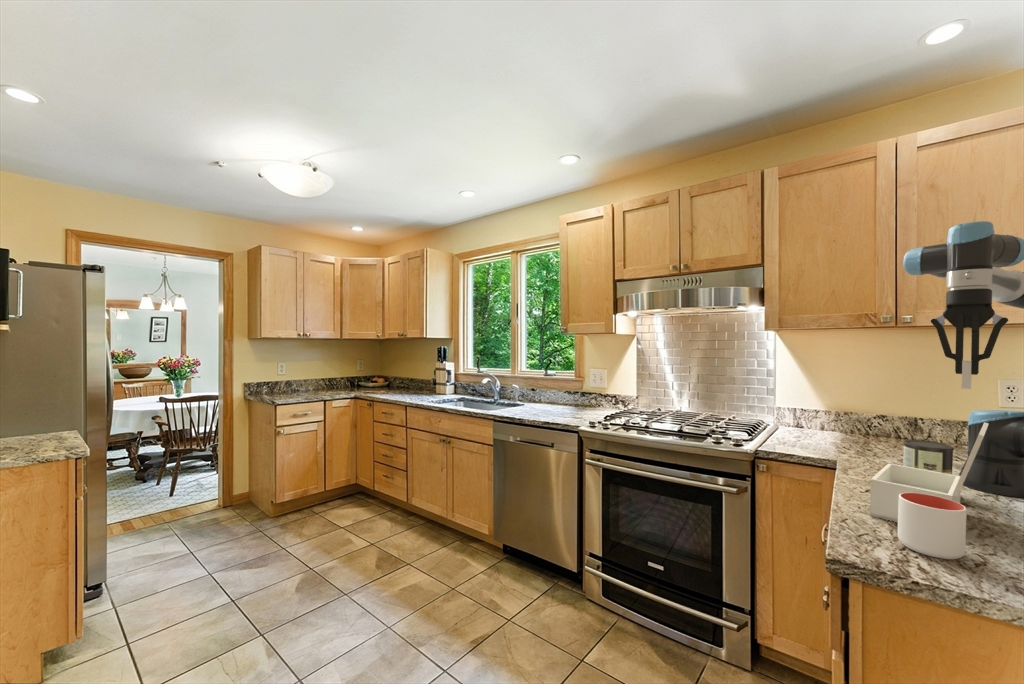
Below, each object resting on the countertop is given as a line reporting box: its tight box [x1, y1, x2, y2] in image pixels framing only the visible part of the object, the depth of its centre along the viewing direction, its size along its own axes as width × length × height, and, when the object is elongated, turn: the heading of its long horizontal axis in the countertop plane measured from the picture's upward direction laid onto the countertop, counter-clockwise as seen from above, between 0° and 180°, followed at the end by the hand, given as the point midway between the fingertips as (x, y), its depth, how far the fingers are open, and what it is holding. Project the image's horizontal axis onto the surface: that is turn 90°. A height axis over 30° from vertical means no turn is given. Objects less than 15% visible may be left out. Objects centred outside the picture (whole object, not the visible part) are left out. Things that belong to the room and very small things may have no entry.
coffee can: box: [902, 439, 955, 475], centre depth 122 cm, size 10×10×14 cm
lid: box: [953, 422, 989, 497], centre depth 100 cm, size 14×23×1 cm
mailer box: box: [869, 462, 962, 524], centre depth 107 cm, size 14×22×9 cm, turn 131°
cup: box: [897, 493, 967, 560], centre depth 89 cm, size 10×10×10 cm
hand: (966, 388), depth 103 cm, fingers closed
